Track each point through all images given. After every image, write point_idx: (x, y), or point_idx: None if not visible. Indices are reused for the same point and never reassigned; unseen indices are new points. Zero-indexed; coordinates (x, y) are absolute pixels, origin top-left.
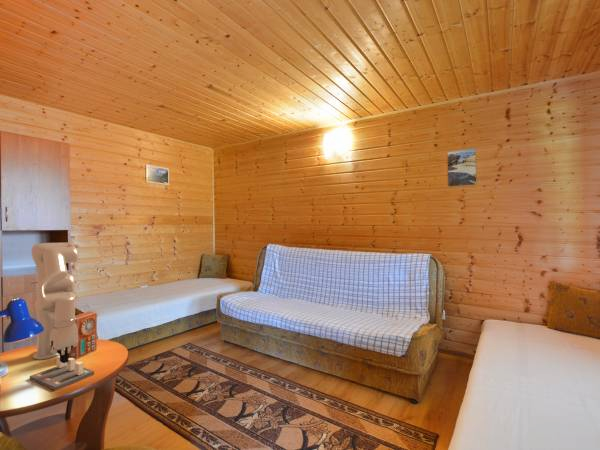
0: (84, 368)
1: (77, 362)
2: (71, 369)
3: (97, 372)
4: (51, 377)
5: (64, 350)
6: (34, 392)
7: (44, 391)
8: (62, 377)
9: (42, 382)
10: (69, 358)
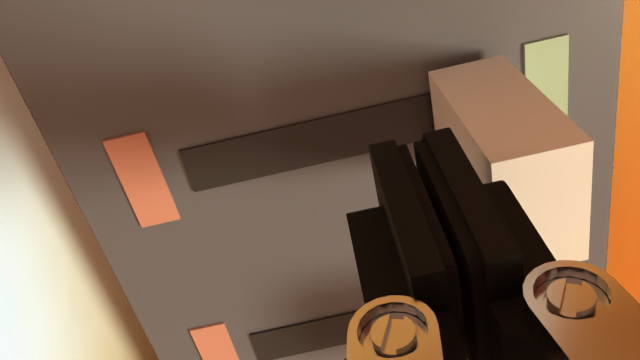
0: (598, 180)
1: None
2: None
3: (631, 279)
4: (194, 165)
5: (536, 324)
6: (11, 299)
7: (104, 339)
8: (304, 255)
9: (82, 198)
10: (540, 165)
